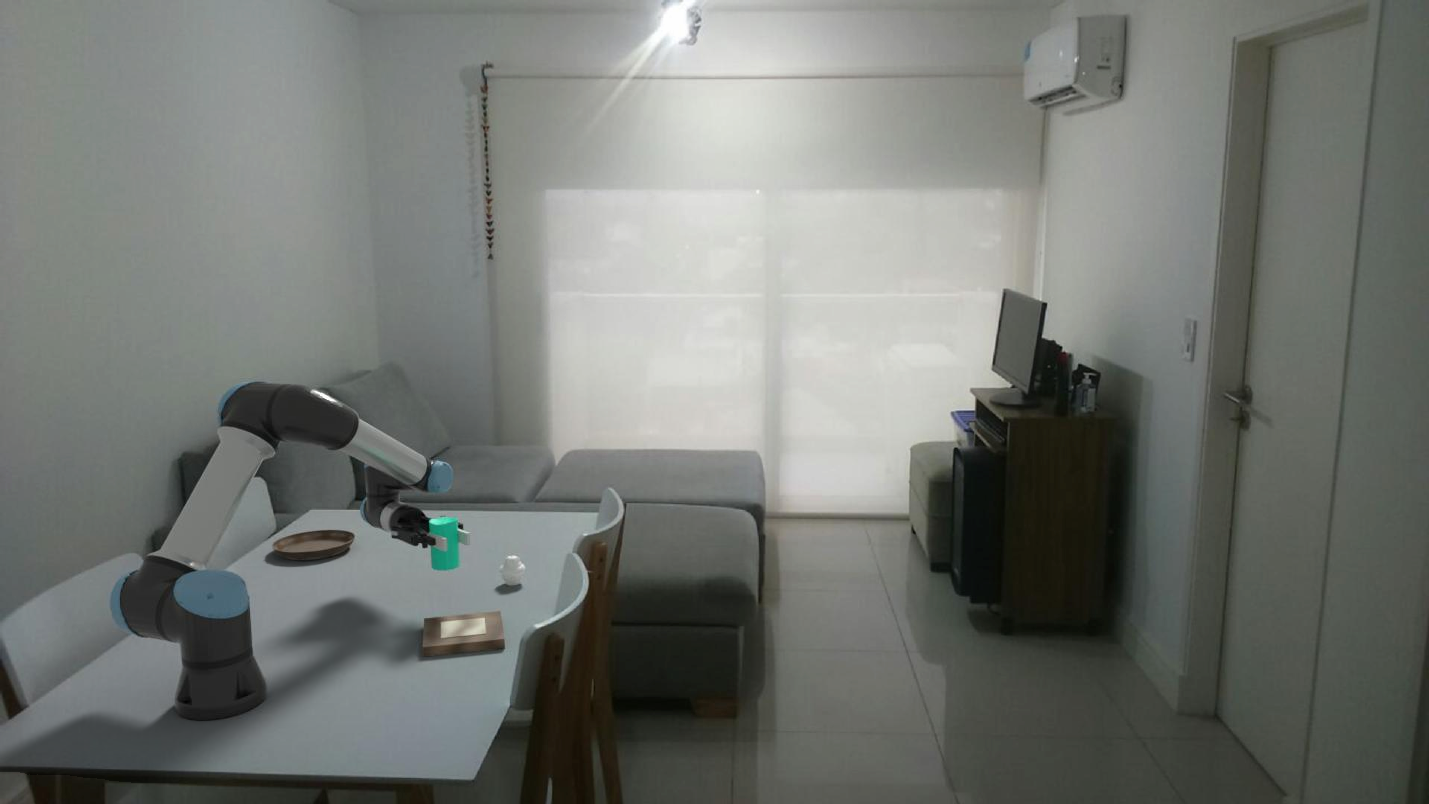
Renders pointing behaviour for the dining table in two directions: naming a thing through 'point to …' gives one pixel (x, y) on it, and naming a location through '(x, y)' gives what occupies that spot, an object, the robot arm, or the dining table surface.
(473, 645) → the plinth
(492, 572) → the dining table surface
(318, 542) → the plant saucer
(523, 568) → the white rounded piece
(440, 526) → the candle
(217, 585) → the robot arm
